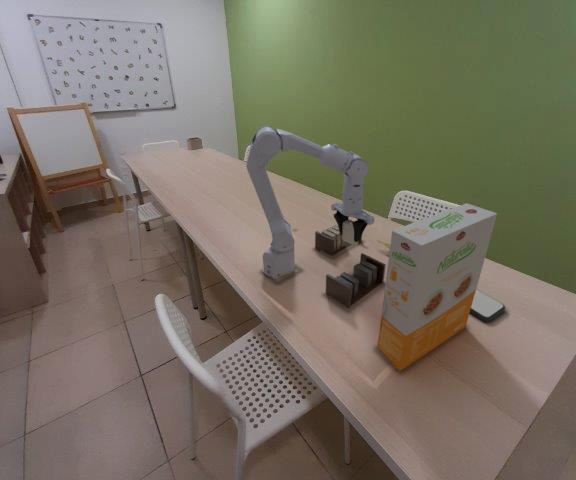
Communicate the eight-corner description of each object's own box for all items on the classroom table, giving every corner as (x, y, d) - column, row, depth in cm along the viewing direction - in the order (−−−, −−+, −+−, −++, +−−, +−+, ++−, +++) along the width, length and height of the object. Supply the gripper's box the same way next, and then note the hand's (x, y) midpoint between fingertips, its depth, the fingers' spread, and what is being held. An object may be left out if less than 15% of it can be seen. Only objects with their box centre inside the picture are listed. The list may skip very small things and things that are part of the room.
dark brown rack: (331, 258, 100) (332, 239, 97) (314, 249, 105) (315, 231, 102) (361, 241, 109) (363, 224, 106) (344, 234, 114) (345, 217, 112)
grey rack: (347, 311, 77) (349, 289, 75) (325, 295, 83) (325, 275, 80) (383, 284, 87) (386, 264, 84) (360, 272, 92) (362, 252, 90)
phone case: (506, 310, 76) (448, 276, 89) (507, 306, 76) (449, 272, 88) (486, 324, 72) (428, 287, 85) (487, 320, 72) (429, 282, 84)
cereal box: (441, 311, 76) (466, 203, 64) (465, 327, 71) (497, 213, 59) (377, 349, 66) (392, 230, 54) (399, 371, 61) (421, 245, 49)
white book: (354, 245, 91) (355, 227, 88) (341, 239, 94) (342, 222, 92) (358, 243, 92) (359, 225, 89) (345, 237, 95) (346, 220, 93)
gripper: (382, 199, 84) (377, 241, 90) (342, 187, 94) (340, 225, 100) (366, 206, 80) (363, 250, 85) (327, 192, 90) (326, 232, 96)
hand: (350, 237), depth 92 cm, fingers closed on white book, 5 cm apart
